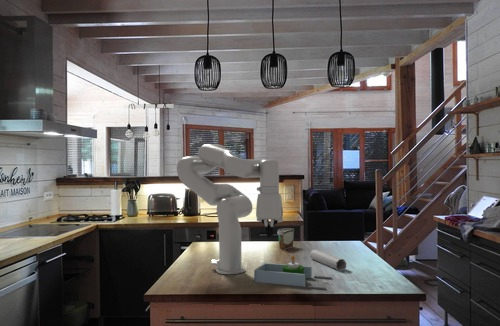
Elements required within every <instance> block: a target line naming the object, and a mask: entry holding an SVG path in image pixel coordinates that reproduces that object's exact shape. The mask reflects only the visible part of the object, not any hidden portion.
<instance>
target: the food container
mask: <svg viewBox="0 0 500 326" xmlns="http://www.w3.org/2000/svg"><path fill="white" fill-rule="evenodd" d="M276 233H277V235H278V243H279V244H278V245H279V246H278V247H279V250H281V251H282V250H283V251H284V250H287V249H291V248H293V247H294V233H295V228H290V227H283V228H279V229H277V232H276Z"/></svg>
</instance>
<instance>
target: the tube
mask: <svg viewBox="0 0 500 326" xmlns="http://www.w3.org/2000/svg"><path fill="white" fill-rule="evenodd" d="M309 257H310V258H311V260H313V261H314V262H315V261H316V262H318V263H320V264H322V265H325V266H327V267H329V268H331V267H332V268H331V269H334V270H336V271H338V272H339V271H344V270H345V269H346V268H347V262H346V260H345V259H344V258H342V257H337V256H336V255H334V254H333V255H332V254H331V253H328V252H327V253H326V252H324V251H321V250H320V249H312V250H311V251H310V253H309Z"/></svg>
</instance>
